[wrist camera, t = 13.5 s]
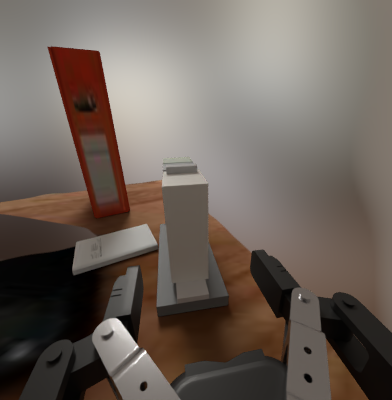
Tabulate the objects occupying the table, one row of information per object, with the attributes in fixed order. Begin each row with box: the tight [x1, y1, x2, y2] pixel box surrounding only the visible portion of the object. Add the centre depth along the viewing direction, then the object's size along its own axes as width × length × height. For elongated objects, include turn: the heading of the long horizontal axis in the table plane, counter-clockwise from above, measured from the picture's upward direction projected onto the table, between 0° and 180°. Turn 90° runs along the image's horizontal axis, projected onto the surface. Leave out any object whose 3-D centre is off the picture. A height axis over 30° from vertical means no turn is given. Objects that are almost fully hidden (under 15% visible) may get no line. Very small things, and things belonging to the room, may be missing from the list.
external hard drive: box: [72, 224, 158, 275], centre depth 33 cm, size 2×8×12 cm
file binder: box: [48, 47, 130, 218], centre depth 46 cm, size 8×17×32 cm, turn 25°
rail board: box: [157, 157, 229, 317], centre depth 27 cm, size 8×18×14 cm, turn 9°
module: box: [162, 164, 208, 283], centre depth 23 cm, size 5×6×13 cm
